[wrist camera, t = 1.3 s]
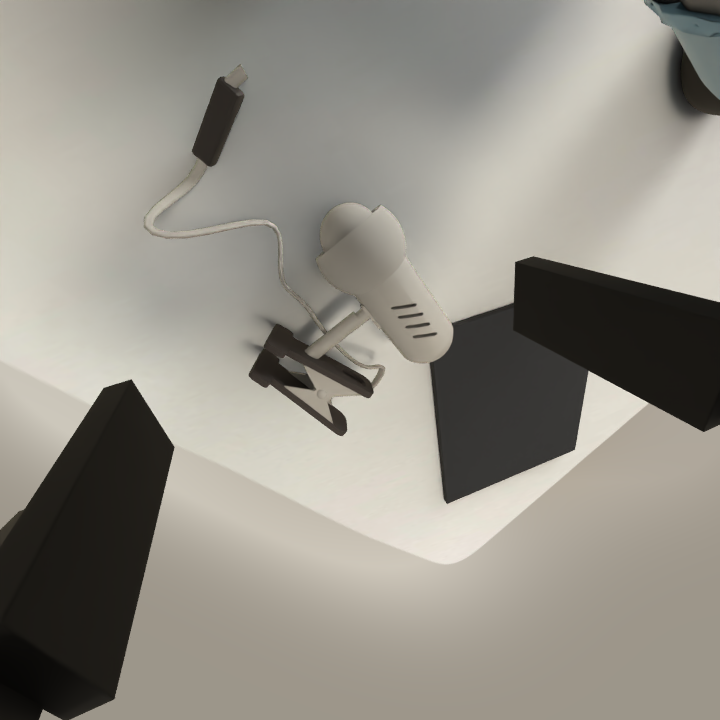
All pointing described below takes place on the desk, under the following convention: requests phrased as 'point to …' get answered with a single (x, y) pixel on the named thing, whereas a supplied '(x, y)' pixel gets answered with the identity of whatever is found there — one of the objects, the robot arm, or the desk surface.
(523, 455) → the desk mat
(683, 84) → the cola bottle
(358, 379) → the clip-on lamp
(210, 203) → the desk surface
